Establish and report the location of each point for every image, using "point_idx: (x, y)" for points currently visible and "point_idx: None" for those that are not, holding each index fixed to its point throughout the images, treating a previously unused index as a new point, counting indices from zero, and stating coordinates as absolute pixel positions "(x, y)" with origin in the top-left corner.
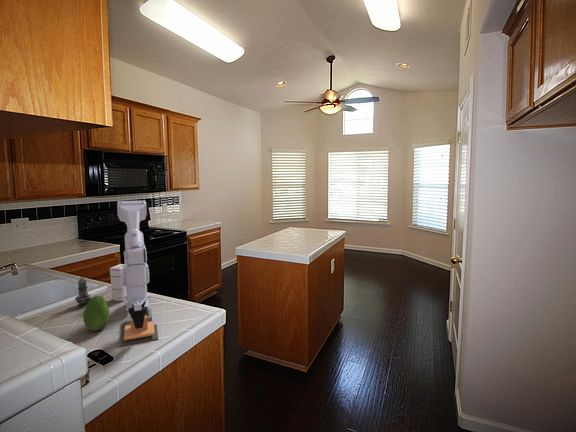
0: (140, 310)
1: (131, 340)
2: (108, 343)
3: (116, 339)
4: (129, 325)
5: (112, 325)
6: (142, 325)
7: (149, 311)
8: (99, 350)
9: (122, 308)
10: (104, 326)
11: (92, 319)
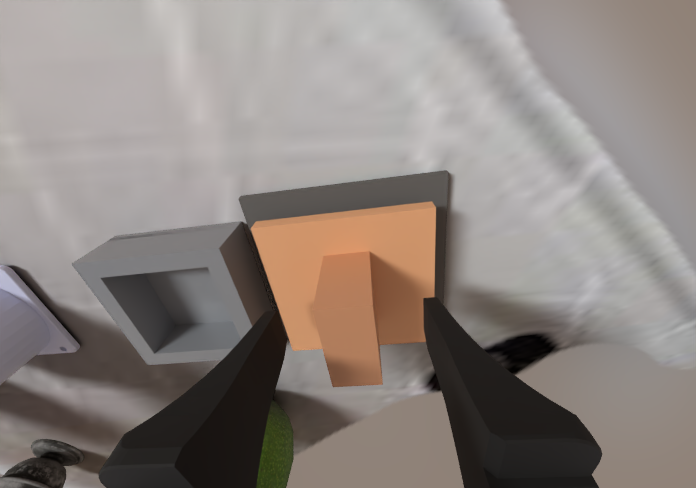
0: (586, 477)
1: None
2: (390, 361)
3: None
4: (295, 336)
5: None
6: (443, 308)
7: (120, 270)
8: (436, 376)
9: (49, 361)
10: None
11: (288, 477)
